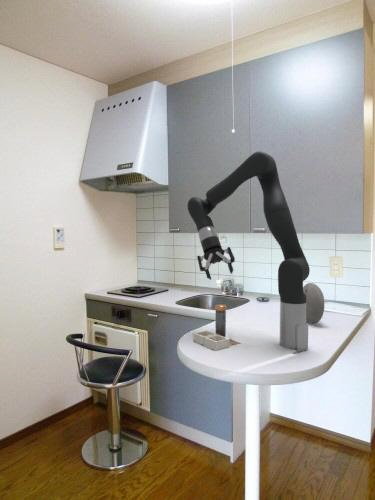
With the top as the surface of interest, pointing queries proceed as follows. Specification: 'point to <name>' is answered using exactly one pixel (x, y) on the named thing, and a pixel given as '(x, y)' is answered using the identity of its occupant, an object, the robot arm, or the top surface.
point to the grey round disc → (313, 302)
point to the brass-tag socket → (217, 342)
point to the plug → (220, 320)
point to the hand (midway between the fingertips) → (221, 276)
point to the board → (231, 343)
